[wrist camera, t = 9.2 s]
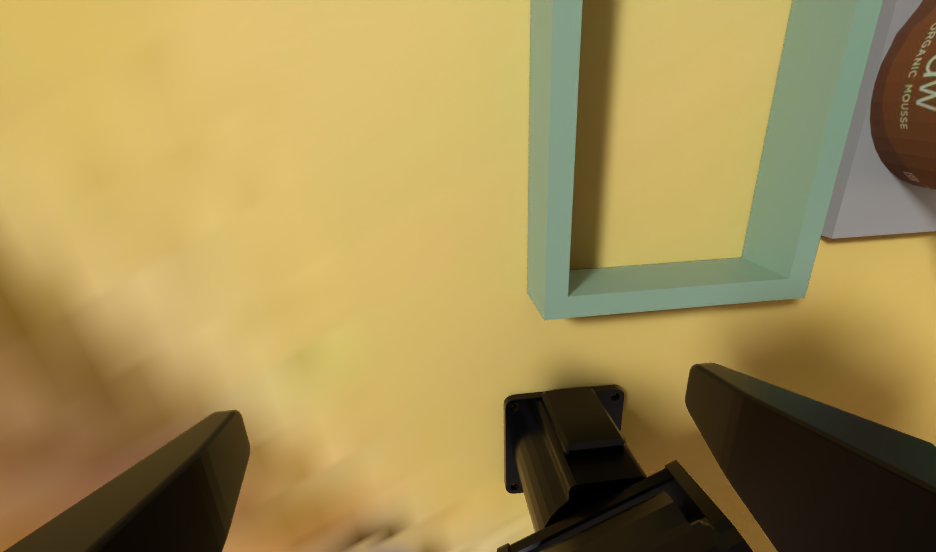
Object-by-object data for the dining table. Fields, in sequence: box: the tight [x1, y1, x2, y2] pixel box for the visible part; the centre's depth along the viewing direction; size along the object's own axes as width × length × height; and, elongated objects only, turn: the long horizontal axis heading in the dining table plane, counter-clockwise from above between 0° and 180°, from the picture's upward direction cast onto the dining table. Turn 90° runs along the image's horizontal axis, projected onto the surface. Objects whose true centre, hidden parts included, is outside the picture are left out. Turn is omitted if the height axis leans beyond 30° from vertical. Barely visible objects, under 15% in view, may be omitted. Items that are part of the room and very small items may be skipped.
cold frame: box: [527, 0, 883, 320], centre depth 17 cm, size 18×12×3 cm, turn 2°
